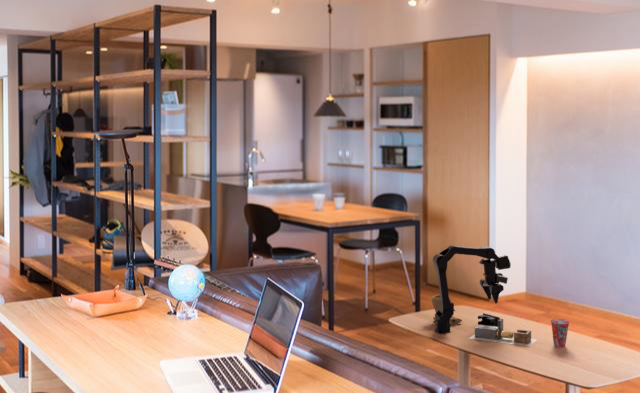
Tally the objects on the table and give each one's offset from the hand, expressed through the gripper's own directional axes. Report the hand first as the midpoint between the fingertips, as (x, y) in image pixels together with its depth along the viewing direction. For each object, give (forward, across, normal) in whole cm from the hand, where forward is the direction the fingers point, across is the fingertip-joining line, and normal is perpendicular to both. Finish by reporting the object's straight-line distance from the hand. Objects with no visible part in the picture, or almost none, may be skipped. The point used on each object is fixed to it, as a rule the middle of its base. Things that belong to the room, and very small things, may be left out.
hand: (493, 301), depth 409 cm
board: (+14, -19, +4) cm, 24 cm away
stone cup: (+13, +18, +21) cm, 31 cm away
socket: (+15, -25, -4) cm, 29 cm away
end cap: (+15, +3, +2) cm, 15 cm away
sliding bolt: (+13, -17, +6) cm, 22 cm away
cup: (+17, -34, -18) cm, 43 cm away
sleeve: (+13, -14, +10) cm, 22 cm away
